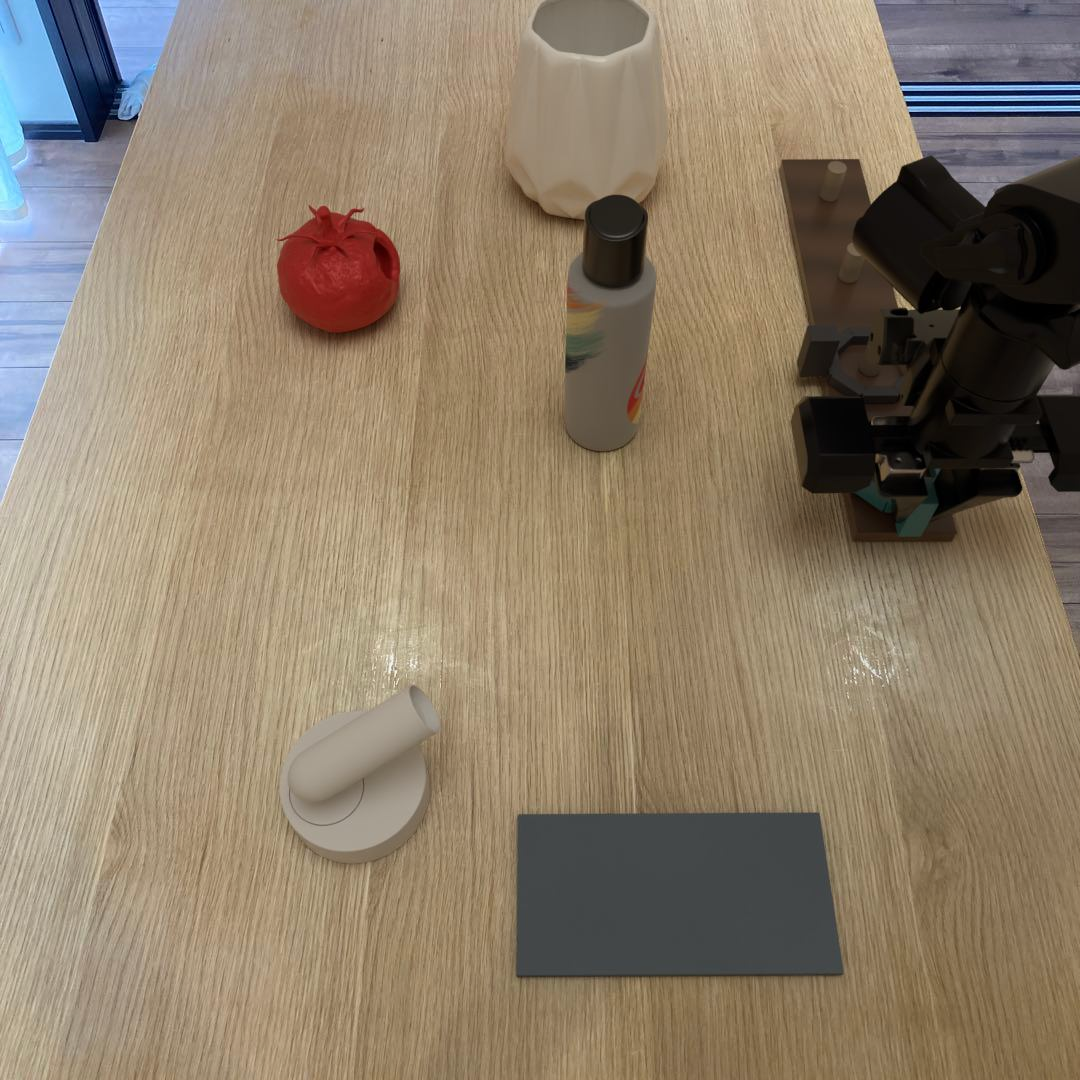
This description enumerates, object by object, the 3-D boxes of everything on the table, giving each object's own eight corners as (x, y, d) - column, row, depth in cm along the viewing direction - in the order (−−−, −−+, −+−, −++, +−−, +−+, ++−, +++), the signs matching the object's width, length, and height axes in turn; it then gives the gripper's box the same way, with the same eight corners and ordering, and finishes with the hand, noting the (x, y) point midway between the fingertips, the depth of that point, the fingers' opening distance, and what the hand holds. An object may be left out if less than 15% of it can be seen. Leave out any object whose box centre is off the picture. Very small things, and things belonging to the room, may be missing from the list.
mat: (817, 815, 62) (819, 812, 62) (841, 975, 57) (844, 973, 57) (518, 816, 62) (517, 813, 62) (516, 977, 57) (516, 975, 57)
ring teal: (837, 433, 76) (851, 398, 72) (932, 433, 76) (950, 397, 72) (858, 537, 71) (874, 504, 68) (960, 536, 71) (981, 503, 68)
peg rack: (952, 541, 72) (973, 508, 69) (852, 542, 72) (868, 509, 69) (856, 169, 94) (868, 129, 90) (779, 170, 94) (788, 129, 90)
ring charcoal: (906, 335, 81) (921, 297, 78) (924, 403, 78) (941, 367, 74) (791, 335, 81) (802, 298, 78) (804, 404, 78) (816, 368, 74)
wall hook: (461, 763, 54) (275, 839, 52) (472, 819, 62) (311, 887, 60) (406, 629, 58) (232, 694, 56) (423, 697, 66) (271, 757, 64)
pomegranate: (318, 367, 81) (294, 278, 73) (265, 290, 86) (237, 199, 78) (428, 317, 84) (416, 227, 76) (371, 246, 89) (354, 154, 81)
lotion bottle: (644, 401, 79) (671, 186, 62) (631, 459, 76) (656, 250, 59) (572, 388, 80) (579, 173, 63) (556, 445, 77) (559, 235, 60)
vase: (563, 257, 88) (566, 97, 75) (477, 167, 94) (466, 5, 81) (694, 196, 92) (718, 35, 79) (603, 114, 98) (611, -48, 85)
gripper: (1116, 260, 62) (1016, 424, 75) (805, 262, 62) (759, 426, 75) (1179, 403, 56) (1058, 554, 69) (834, 406, 56) (779, 556, 69)
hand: (909, 517), depth 71 cm, fingers closed on ring teal, 2 cm apart
